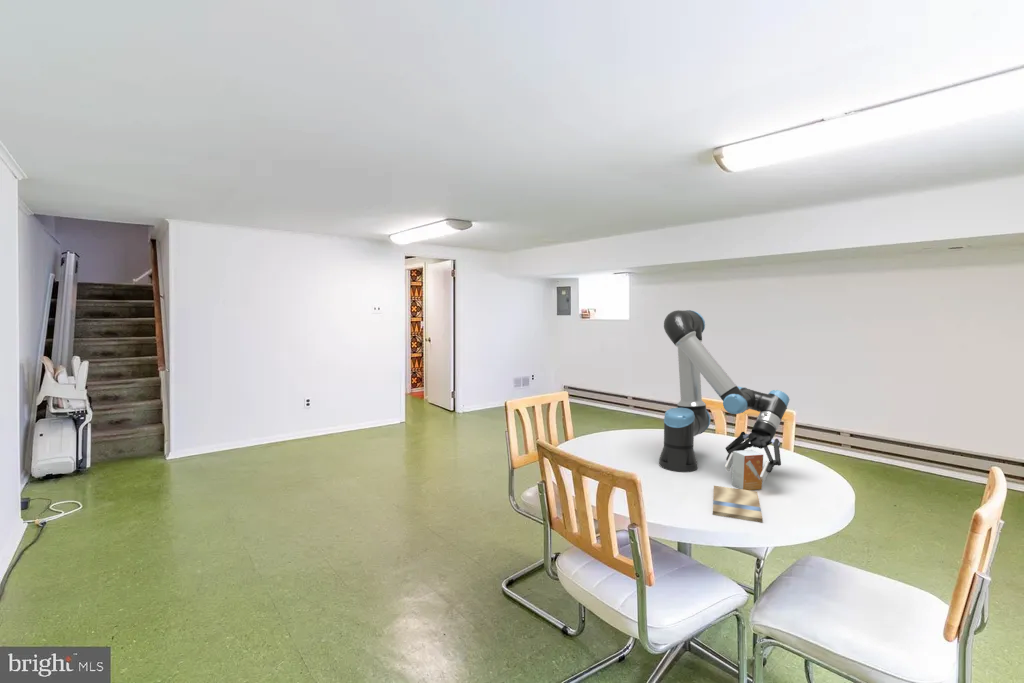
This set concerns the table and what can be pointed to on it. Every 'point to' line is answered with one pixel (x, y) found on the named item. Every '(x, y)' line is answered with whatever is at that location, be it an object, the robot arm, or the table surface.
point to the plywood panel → (736, 503)
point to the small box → (747, 470)
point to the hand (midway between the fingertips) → (743, 473)
